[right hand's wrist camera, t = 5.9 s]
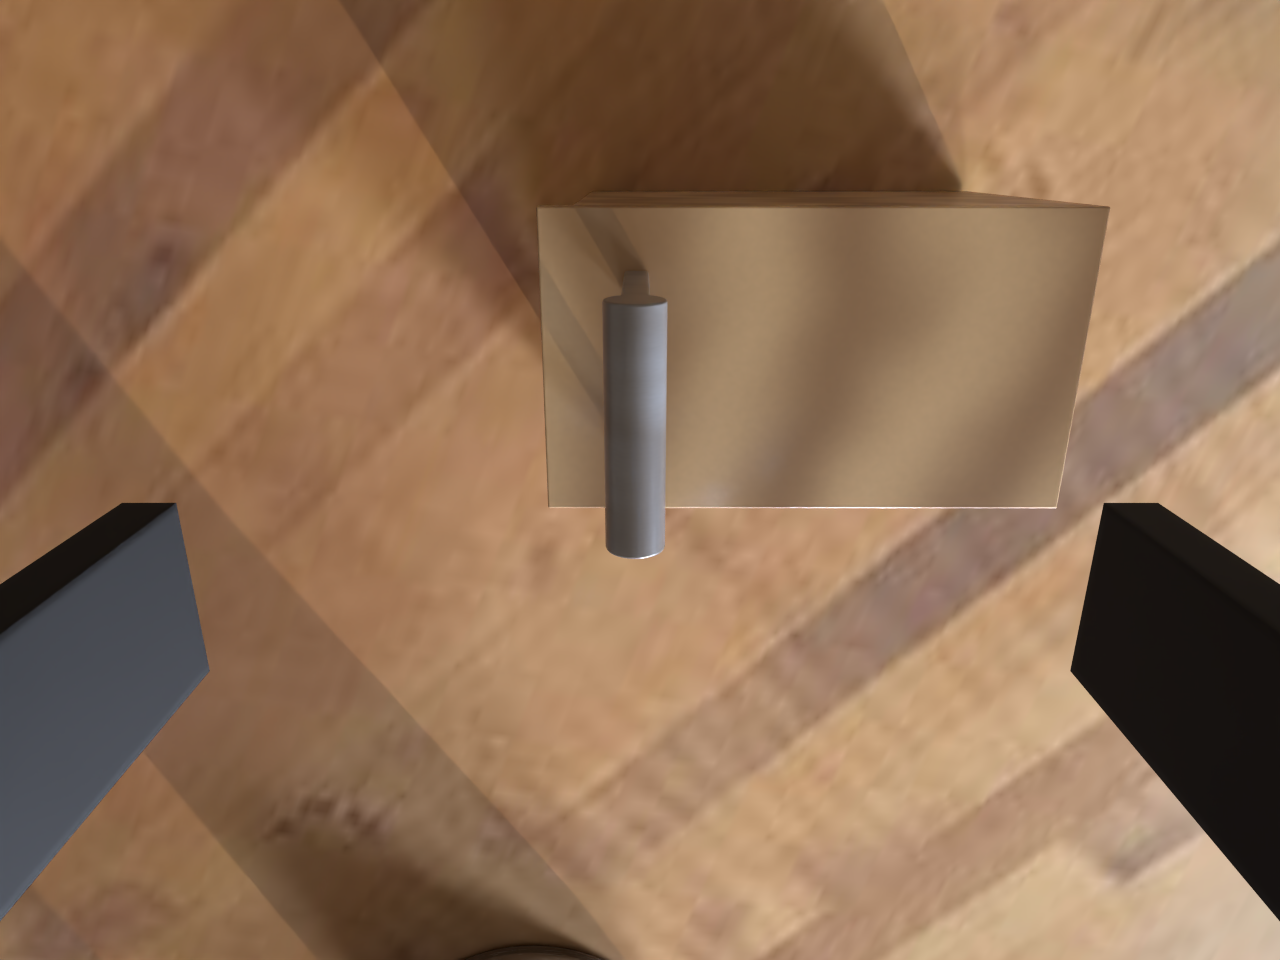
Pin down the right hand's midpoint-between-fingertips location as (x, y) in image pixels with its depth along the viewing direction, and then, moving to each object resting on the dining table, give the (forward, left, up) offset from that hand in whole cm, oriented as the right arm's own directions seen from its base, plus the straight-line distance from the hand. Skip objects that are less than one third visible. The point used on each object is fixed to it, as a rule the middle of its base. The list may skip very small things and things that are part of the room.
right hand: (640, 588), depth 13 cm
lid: (-2, -5, -15) cm, 16 cm away
